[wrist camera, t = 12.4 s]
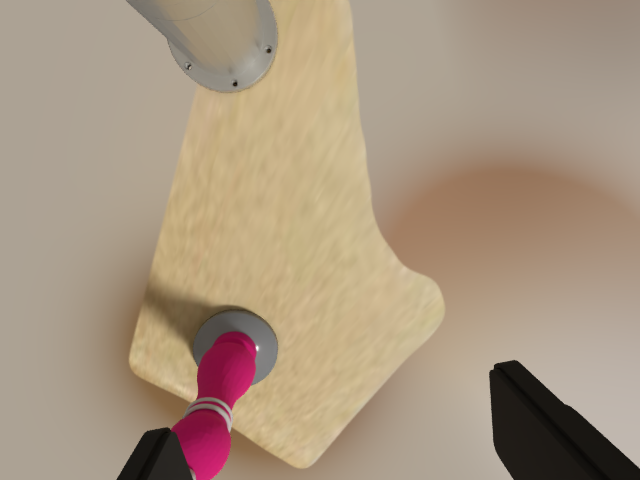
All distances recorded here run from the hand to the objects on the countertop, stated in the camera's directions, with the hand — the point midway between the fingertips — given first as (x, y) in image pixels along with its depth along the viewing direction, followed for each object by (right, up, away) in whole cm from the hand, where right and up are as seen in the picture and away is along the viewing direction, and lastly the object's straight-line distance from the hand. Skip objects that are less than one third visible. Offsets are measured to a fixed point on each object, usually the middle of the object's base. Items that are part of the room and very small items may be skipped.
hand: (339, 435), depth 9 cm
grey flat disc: (-13, -10, +37) cm, 40 cm away
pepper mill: (-13, -10, +36) cm, 39 cm away
